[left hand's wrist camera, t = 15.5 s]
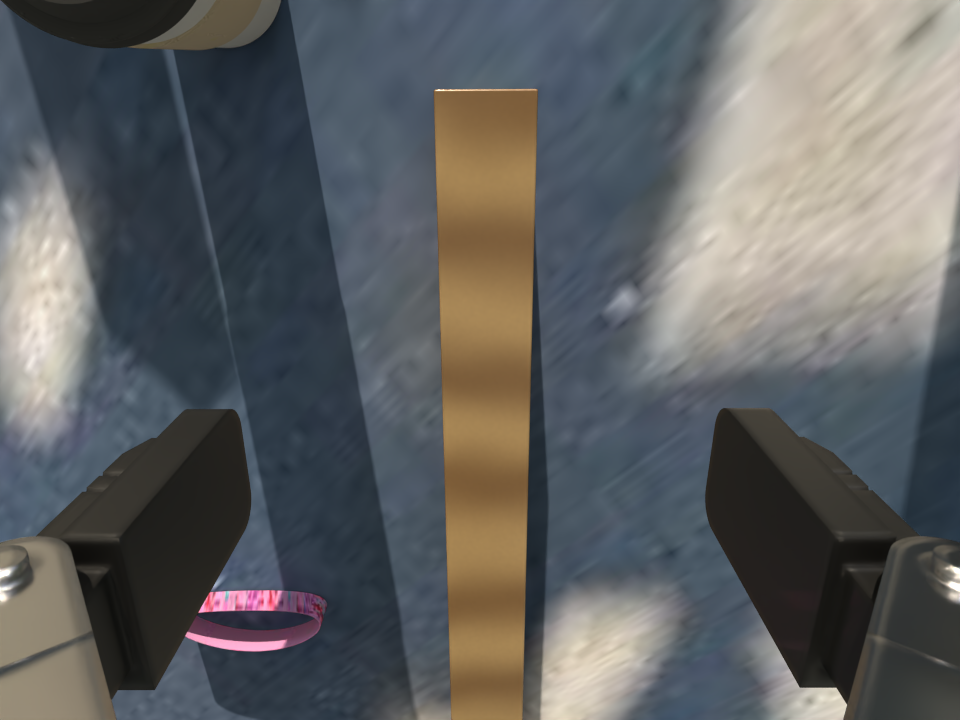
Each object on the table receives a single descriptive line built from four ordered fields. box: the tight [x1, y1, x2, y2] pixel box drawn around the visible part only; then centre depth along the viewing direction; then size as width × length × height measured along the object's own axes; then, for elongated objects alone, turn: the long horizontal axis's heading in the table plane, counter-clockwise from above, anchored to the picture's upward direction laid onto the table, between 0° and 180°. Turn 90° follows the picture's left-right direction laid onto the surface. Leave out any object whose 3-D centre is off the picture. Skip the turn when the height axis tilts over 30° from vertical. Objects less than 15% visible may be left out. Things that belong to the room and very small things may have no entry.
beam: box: [434, 89, 538, 720], centre depth 44 cm, size 60×5×6 cm, turn 0°
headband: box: [185, 591, 327, 652], centre depth 48 cm, size 11×4×2 cm, turn 91°
